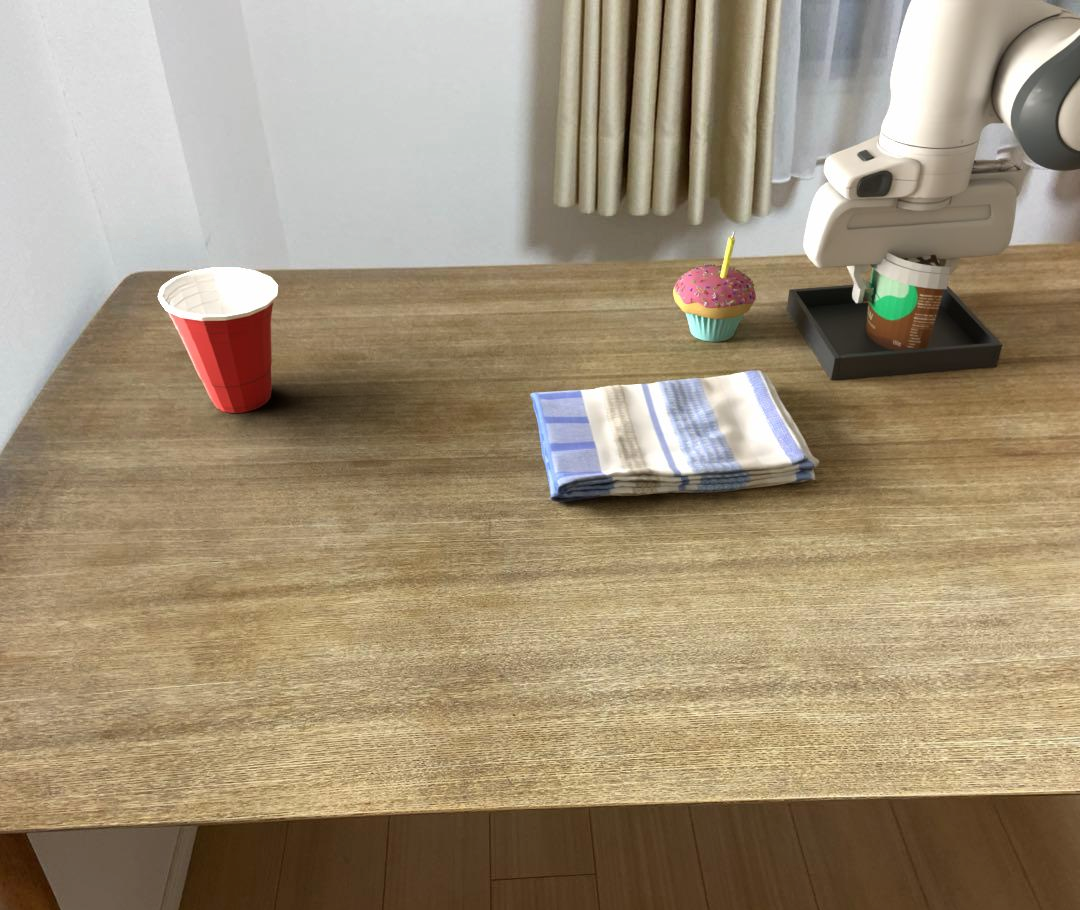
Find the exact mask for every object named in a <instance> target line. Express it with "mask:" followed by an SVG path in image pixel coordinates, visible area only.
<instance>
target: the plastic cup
mask: <svg viewBox="0 0 1080 910" xmlns="http://www.w3.org/2000/svg"><path fill="white" fill-rule="evenodd" d="M278 291H279V284H277V282H276V280H274V279H273V277H271V276H270V275H267V274H265V273H262V272H260V271H258V270H254V269H249V268H243V267H242V268H241V267H236V266H235V267H231V266H230V267H229V266H228V267H226V266H225V267H208V268H203V269H197V270H192V271H189V272H188V271H187V272H186V273H183V274H180V275H177V276H175V277H172V278H171V279H170V280H168V281H167V282H165V283H164V284H163V285H161V287H160V288H159V290H158V295H157V298H158V301H159V302H160V304H161V306H162V307H163V308H164V310H165V311H166V312H167V313H168V315H169V318H170V319H171V320H172V323H173V325H174V328H175V329H176V330H177V332H178V334H179V337H180V339H181V341H182V343H183V345H184V347H185V349H186V352H187V354H188V356H189V358H190V361H191V362H192V364H193V367H194V369H195V371H196V373H197V375H198V377H199V379H200V380H201V381H202V384H203V386H204V388H205V390H206V392H207V395H208V396H209V398H210V400H211V402H212V403H213V405H214V406H215V407H216V409H217V410H220V411H222V412H224V413H233V414H240V413H247V412H251V411H254V410H258V409H259V408H261V407H262V406H264V405H265V404H267V403H268V401H270V399H271V397H272V396H271V395H272V389H273V381H272V379H273V377H272V365H273V364H272V363H273V360H272V359H273V356H272V354H273V352H272V315H273V307H274V303H275V301H276V300H277V298H278Z"/></svg>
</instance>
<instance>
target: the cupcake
mask: <svg viewBox="0 0 1080 910" xmlns="http://www.w3.org/2000/svg"><path fill="white" fill-rule="evenodd" d="M735 234H736V231H735V230H734V231H732V235H731V236H729V237H728V238H727V243H726V248H725V253H724V257H723V262H722V265H721V264H718V265H715V263H713V264H705V265H704V264H702V265H699V266H696V267H693V268H692V269H688V271H687V272H686V273H684V274H681V277H680V278H679V279H678V280H677V281H676V283H675V285H674V287H673V290H672V291H673V292H672V295H673V299H674V302H675V303H676V305H677V306H678V307H679V309H680V310H681V311H682V312H683V313H684V314H685V316H686V319H687V323H688V326H689V331H690V334H691V335H692V336H693V337H694V338H695V339H698V340H700V341H704V342H709V343H710V342H711V343H718V342H724V341H728V340H729V339H731V338H732V337H733V336H734V335H735V333H736V331H737V329H738V326H739V324H740V322H741V321H742V319H743V317H744V316H745V314H747V313H748V312H749V311H750V310H751V308H752V306H753V305H754V303H755V301H756V299H757V294H756V290H755V283H753V280H752V279H751V278H749V276H748V275H747V274H746V273H743V272H742V271H740V270H739V269H736V268H735V267H730V265H731V264H730V263H731V259H732V256H733V250H734V245H735V241H736V238H735Z"/></svg>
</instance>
